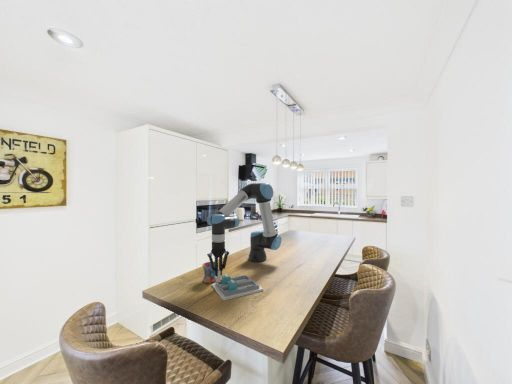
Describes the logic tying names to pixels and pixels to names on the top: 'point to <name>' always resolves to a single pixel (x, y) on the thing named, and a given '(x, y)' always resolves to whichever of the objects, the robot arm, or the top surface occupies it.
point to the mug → (209, 273)
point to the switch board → (243, 288)
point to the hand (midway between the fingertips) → (218, 281)
